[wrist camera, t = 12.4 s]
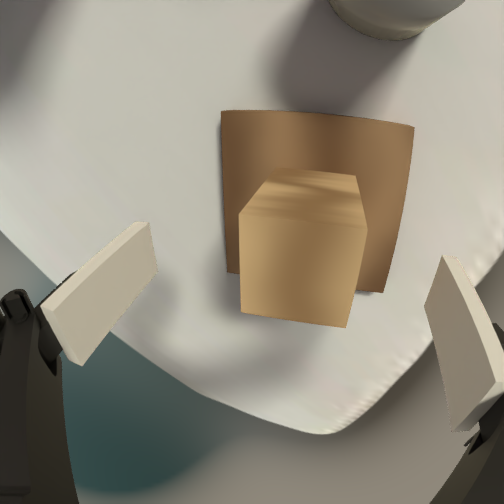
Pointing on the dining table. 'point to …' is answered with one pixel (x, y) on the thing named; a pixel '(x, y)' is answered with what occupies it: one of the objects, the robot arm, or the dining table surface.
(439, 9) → the grey dome cap
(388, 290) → the dining table surface
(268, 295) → the oak block
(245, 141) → the walnut board
